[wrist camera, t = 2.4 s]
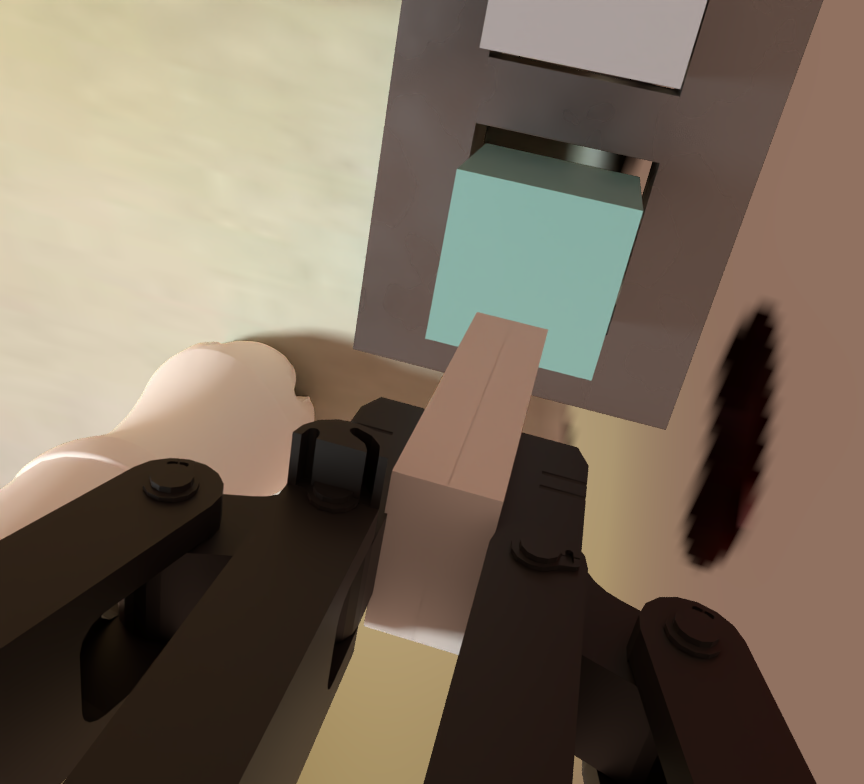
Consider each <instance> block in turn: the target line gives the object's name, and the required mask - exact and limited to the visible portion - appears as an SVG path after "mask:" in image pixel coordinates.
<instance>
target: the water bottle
mask: <svg viewBox="0 0 864 784" xmlns="http://www.w3.org/2000/svg"><path fill="white" fill-rule="evenodd" d="M295 383H296V373H295V369H294V367H293V366H292V365H291V364H290V362H289V361H288V359H287V358H286V357H285V355H283V354H282V353H280V352H279V351H277V350H276V349H274V348H272V347H270V346H268V345H266V344H263V343H260V342H254V341H234V342H228V343H222V344H221V343H219V342H204V343H198V344H195V345H193V346H190V347H188V348H186V349H185V350H183V351H181V352H179V353H178V354H176V355H174V356H173V357H171V358H169V359H168V360H167V361H166V362H164V363H163V364H162V365H161V366H160V367H159V368H158V369H157V371H156V372H155V373H154V374H153V376H152V377H151V379H150V380H149V382H148V384H147V386H146V388H145V390H144V391H143V393H142V395H141V397H140V398H139V400H138V401H137V403H136V404H135V406H134V407H133V409H132V410H131V412H130V413H129V414H128V415H127V416H126V418H125V419H124V420H123V421H122V422H121V423H120V424H119V425H118V426H117V427H116V428H115V429H114V430H112V431H111V432H110V433H108V434H105V435H101V436H94V437H87V438H81V439H76V440H73V441H70V442H66V443H63V444H61V445H59V446H56V447H54V448H52V449H50V450H48V451H46V452H44V453H43V454H41V455H39V456H38V457H36V458H35V459H33V460H32V461H31V462H29V463H28V464H27V465H25V466H24V467H23V468H22V469H21V470H20V471H19V472H18V473H17V475H16V477H15V478H14V480H13V481H11V482H10V483H9V484H7V485H6V486H5V487H3V488H2V489H1V490H0V540H1V539H3V538H5V537H7V536H9V535H10V534H12V533H14V532H16V531H18V530H19V529H21V528H23V527H25V526H27V525H29V524H30V523H32V522H34V521H36V520H38V519H40V518H41V517H43V516H45V515H47V514H49V513H50V512H52V511H54V510H56V509H58V508H60V507H61V506H63V505H65V504H67V503H69V502H70V501H72V500H74V499H76V498H78V497H80V496H81V495H83V494H85V493H87V492H89V491H91V490H92V489H94V488H96V487H98V486H100V485H101V484H103V483H105V482H107V481H109V480H111V479H112V478H114V477H116V476H118V475H120V474H122V473H123V472H125V471H127V470H129V469H131V468H132V467H135V466H137V465H140V464H143V463H145V462H148V461H150V460H158V459H166V458H179V459H190V460H193V461H196V462H199V463H202V464H205V465H207V466H209V467H210V468H212V469H213V470H215V471H216V472H217V473H219V475H220V477H221V479H222V481H223V483H224V490H223V494H229V495H243V496H271V495H273V494H275V493H277V492H279V491H280V490H282V489H283V488H284V487H285V486H286V484H287V479H288V470H289V461H290V452H291V443H292V434H293V431H295V430H296V429H298V428H299V427H300V426H302V425H303V424H307V423H310V422H314V407H313V404H312V402H311V401H310V396H307V397H302V396H296V395H295V392H294V388H295Z"/></svg>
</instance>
